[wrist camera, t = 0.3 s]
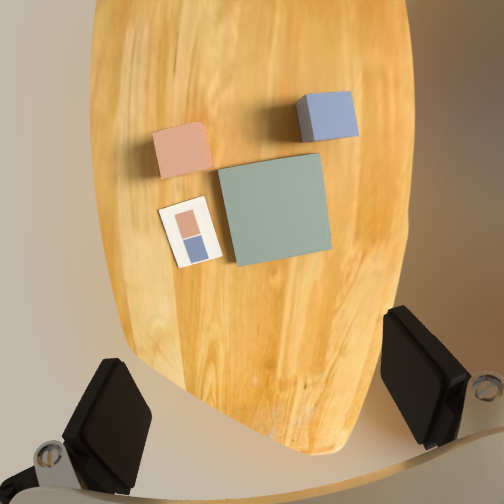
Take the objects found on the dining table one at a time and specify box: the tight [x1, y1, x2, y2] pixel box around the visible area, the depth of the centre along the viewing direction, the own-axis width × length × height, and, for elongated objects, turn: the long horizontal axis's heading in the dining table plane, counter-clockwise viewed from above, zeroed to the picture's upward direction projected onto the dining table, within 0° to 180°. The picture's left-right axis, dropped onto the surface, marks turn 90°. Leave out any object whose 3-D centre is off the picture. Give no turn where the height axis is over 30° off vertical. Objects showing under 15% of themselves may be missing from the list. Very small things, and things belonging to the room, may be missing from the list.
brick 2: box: [295, 91, 359, 143], centre depth 31 cm, size 5×5×6 cm
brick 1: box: [152, 121, 214, 179], centre depth 31 cm, size 5×5×6 cm
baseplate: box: [218, 153, 332, 267], centre depth 36 cm, size 12×12×2 cm
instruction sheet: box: [159, 196, 223, 268], centre depth 37 cm, size 8×6×1 cm
